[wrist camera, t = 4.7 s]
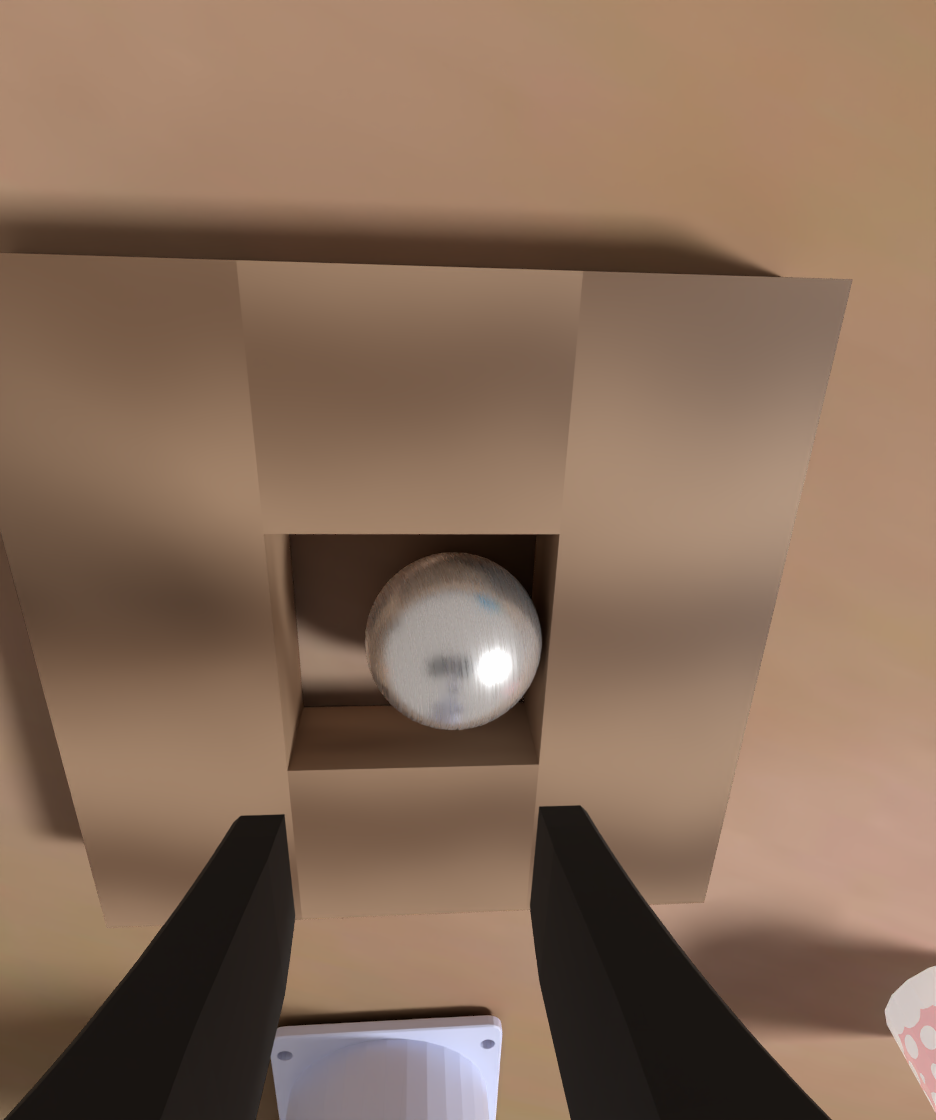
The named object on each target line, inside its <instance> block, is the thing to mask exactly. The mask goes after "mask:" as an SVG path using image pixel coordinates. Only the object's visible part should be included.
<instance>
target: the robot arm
mask: <svg viewBox="0 0 936 1120" xmlns="http://www.w3.org/2000/svg"><path fill="white" fill-rule="evenodd" d="M530 912H531V920H532V928H533V936H534V944H535V952H536V959H537V967H538V974H539V981H540V986H541V991H542V995H543V1000H544V1004H545V1008H546V1013H547V1017H548V1022H549V1026H550V1031H551V1035H552V1039H553V1044H554V1048H555V1053H556V1057H557V1061H558V1066H559V1070H560V1074H561V1079H562V1083H563V1087H564V1092H565V1096H566V1100H567V1105H568V1109H569V1113H570V1118H571V1120H831V1119H830V1117H829V1116H828V1115H827V1114H826V1113H825V1112H824V1111H823V1110H822V1109H821V1108H820V1107H819V1106H818V1105H817V1104H816V1103H815V1102H814V1101H813V1100H812V1099H811V1098H810V1097H809V1096H808V1095H807V1094H806V1093H805V1092H804V1091H803V1090H802V1089H801V1088H800V1086H799V1085H798V1084H797V1083H796V1082H795V1081H794V1080H793V1079H792V1078H791V1077H790V1076H789V1075H788V1073H787V1072H786V1071H785V1070H784V1069H783V1068H782V1067H781V1066H780V1065H779V1064H778V1063H777V1061H776V1060H775V1059H774V1058H773V1057H772V1056H771V1055H770V1054H769V1053H768V1052H767V1051H766V1049H765V1048H764V1047H763V1046H762V1045H761V1044H760V1043H759V1042H758V1040H757V1039H756V1038H755V1037H754V1036H753V1035H752V1034H751V1033H750V1031H749V1030H748V1029H747V1028H746V1027H745V1026H744V1024H743V1023H742V1022H741V1021H740V1020H739V1019H738V1017H737V1016H736V1015H735V1014H734V1013H733V1012H732V1010H731V1009H730V1008H729V1007H728V1006H727V1005H726V1003H725V1002H724V1001H723V1000H722V998H721V997H720V996H719V995H718V994H717V992H716V991H715V990H714V989H713V987H712V986H711V985H710V984H709V983H708V981H707V980H706V979H705V978H704V977H703V975H702V974H701V973H700V972H699V970H698V969H697V968H696V967H695V965H694V964H693V963H692V961H691V960H690V959H689V958H688V956H687V955H686V954H685V953H684V951H683V950H682V949H681V947H680V946H679V945H678V943H677V942H676V941H675V939H674V938H673V937H672V935H671V934H670V933H669V931H668V930H667V929H666V927H665V926H664V925H663V923H662V922H661V921H660V919H659V918H658V917H657V915H656V914H655V913H654V911H653V910H652V909H651V907H650V906H649V905H648V903H647V902H646V900H645V899H644V898H643V896H642V895H641V893H640V892H639V891H638V889H637V888H636V886H635V885H634V883H633V882H632V881H631V879H630V878H629V876H628V875H627V873H626V872H625V870H624V869H623V867H622V866H621V864H620V863H619V861H618V860H617V858H616V857H615V855H614V854H613V852H612V851H611V849H610V848H609V846H608V845H607V843H606V842H605V840H604V839H603V837H602V835H601V834H600V832H599V831H598V829H597V827H596V826H595V824H594V823H593V821H592V819H591V818H590V816H589V814H588V813H587V811H586V810H585V809H584V808H583V807H582V806H581V805H572V806H539V813H538V823H537V834H536V845H535V856H534V866H533V877H532V888H531V899H530ZM294 923H295V908H294V899H293V889H292V880H291V870H290V861H289V851H288V842H287V833H286V823H285V814H277V815H244V816H240V817H239V818H238V819H236V820H235V821H234V822H233V824H232V825H231V827H230V829H229V830H228V832H227V833H226V835H225V836H224V838H223V840H222V841H221V843H220V844H219V846H218V847H217V849H216V850H215V852H214V854H213V855H212V857H211V858H210V860H209V861H208V863H207V864H206V866H205V867H204V869H203V870H202V872H201V873H200V874H199V876H198V877H197V879H196V880H195V882H194V883H193V885H192V886H191V888H190V889H189V890H188V892H187V893H186V895H185V896H184V898H183V899H182V900H181V902H180V903H179V905H178V906H177V908H176V909H175V910H174V912H173V913H172V914H171V916H170V917H169V918H168V920H167V921H166V922H165V924H164V925H163V927H162V928H161V929H160V931H159V932H158V933H157V935H156V936H155V937H154V939H153V940H152V941H151V943H150V944H149V946H148V947H147V948H146V950H145V951H144V952H143V954H142V955H141V956H140V958H139V959H138V960H137V962H136V963H135V964H134V966H133V967H132V968H131V969H130V971H129V972H128V973H127V975H126V976H125V977H124V978H123V980H122V981H121V982H120V983H119V985H118V986H117V987H116V988H115V989H114V991H113V992H112V993H111V994H110V996H109V997H108V998H107V999H106V1001H105V1002H104V1003H103V1004H102V1006H101V1007H100V1008H99V1009H98V1011H97V1012H96V1013H95V1014H94V1016H93V1017H92V1018H91V1019H90V1021H89V1022H88V1023H87V1024H86V1026H85V1027H84V1028H83V1029H82V1031H81V1032H80V1033H79V1034H78V1035H77V1037H76V1038H75V1039H74V1040H73V1041H72V1043H71V1044H70V1045H69V1046H68V1047H67V1048H66V1050H65V1051H64V1052H63V1053H62V1054H61V1055H60V1057H59V1058H58V1059H57V1060H56V1061H55V1063H54V1064H53V1065H52V1066H51V1067H50V1068H49V1070H48V1071H47V1072H46V1073H45V1074H44V1075H43V1076H42V1078H41V1079H40V1080H39V1081H38V1082H37V1083H36V1084H35V1085H34V1087H33V1088H32V1089H31V1090H30V1091H29V1092H28V1093H27V1094H26V1096H25V1097H24V1098H23V1099H22V1100H21V1101H20V1102H19V1103H18V1104H17V1106H16V1107H15V1108H14V1109H13V1110H12V1111H11V1112H10V1113H9V1114H8V1115H7V1117H6V1118H5V1119H4V1120H256V1116H257V1112H258V1108H259V1104H260V1099H261V1095H262V1091H263V1087H264V1083H265V1078H266V1074H267V1070H268V1066H269V1061H270V1057H271V1063H272V1070H273V1077H274V1084H275V1091H276V1098H277V1105H278V1112H279V1119H280V1120H496V1107H497V1094H498V1081H499V1068H500V1055H501V1042H502V1026H501V1021H500V1020H499V1019H498V1018H497V1017H495V1016H492V1015H482V1016H463V1017H445V1018H427V1019H408V1020H390V1021H371V1022H353V1023H334V1024H316V1025H298V1026H283V1027H279V1028H277V1027H278V1022H279V1018H280V1014H281V1009H282V1005H283V1000H284V996H285V990H286V983H287V976H288V969H289V961H290V954H291V946H292V938H293V931H294Z"/></svg>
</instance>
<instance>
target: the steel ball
mask: <svg viewBox="0 0 936 1120" xmlns="http://www.w3.org/2000/svg"><path fill="white" fill-rule="evenodd" d="M541 648H542V636H541V626H540V621H539V617H538V614H537V611H536V608H535V606H534V603H533V601H532V599H531V598H530V596H529V594H528V593H527V591H526V589H525V588H524V587H523V586H522V584H521V583H520V582H519V581H518V580H517V579H516V578H515V577H514V576H513V575H512V574H511V573H510V572H508V571H507V570H506V569H504V568H503V567H501V566H500V565H498V564H497V563H495V562H493V561H490V560H488V559H486V558H483V557H480V556H477V555H473V554H468V553H456V552H448V553H439V554H434V555H430V556H427V557H424V558H421V559H419V560H417V561H415V562H413V563H411V564H409V565H407V566H406V567H404V568H403V569H402V570H400V571H399V572H398V573H396V574H395V575H394V576H393V577H392V578H391V579H390V580H389V581H388V582H387V583H386V585H385V586H384V587H383V588H382V590H381V591H380V593H379V594H378V596H377V598H376V599H375V602H374V604H373V606H372V608H371V611H370V614H369V617H368V621H367V626H366V632H365V649H366V657H367V662H368V666H369V669H370V672H371V674H372V677H373V679H374V681H375V683H376V685H377V687H378V689H379V690H380V691H381V693H382V694H383V696H384V697H385V698H386V699H387V700H388V702H389V703H390V704H391V705H392V706H393V707H394V708H396V709H397V710H398V711H399V712H401V713H402V714H403V715H405V716H406V717H408V718H410V719H411V720H413V721H415V722H418V723H420V724H422V725H425V726H429V727H432V728H437V729H445V730H463V729H470V728H474V727H478V726H481V725H484V724H487V723H489V722H491V721H493V720H495V719H497V718H498V717H500V716H501V715H503V714H505V713H506V712H507V711H508V710H510V709H511V708H512V707H513V706H514V705H515V704H516V703H517V702H518V701H519V700H520V699H521V698H522V697H523V695H524V694H525V692H526V691H527V689H528V688H529V686H530V684H531V682H532V680H533V678H534V676H535V674H536V671H537V668H538V665H539V661H540V655H541Z"/></svg>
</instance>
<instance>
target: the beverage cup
mask: <svg viewBox="0 0 936 1120" xmlns="http://www.w3.org/2000/svg"><path fill="white" fill-rule="evenodd" d="M885 1016H886V1022H887V1026H888V1027H889V1029H890V1031H891V1033H892V1035H893V1036H894V1038H895V1040H896V1042H897V1044H898V1045H899V1047H900V1049H901V1051H902V1053H903V1055H904V1056H905V1058H906V1060H907V1062H908V1064H909V1065H910V1067H911V1069H912V1071H913V1073H914V1074H915V1076H916V1078H917V1080H918V1082H919V1083H920V1085H921V1087H922V1089H923V1091H924V1093H925V1094H926V1096H927V1098H928V1100H929V1102H930V1103H931V1105H932V1107H933V1109H934V1111H935V1112H936V966H933V967H930V968H927V969H926V970H924V971H922V972H920V973H919V974H917V975H915V976H913V977H912V978H910V979H908V980H907V981H906V982H905V983H904V984H903V985H901V986H900V987H899V988H898V989H897V990H896V991H895V992H894V993H893V994H892V995H891V998H890V1000H889V1002H888V1004H887V1007H886V1009H885Z"/></svg>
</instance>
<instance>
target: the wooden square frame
mask: <svg viewBox="0 0 936 1120" xmlns="http://www.w3.org/2000/svg"><path fill="white" fill-rule="evenodd" d="M852 280H853V279H822V278H792V277H760V276H728V275H696V274H664V273H632V272H600V271H568V270H536V269H504V268H472V267H440V266H408V265H376V264H344V263H312V262H280V261H248V260H216V259H184V258H152V257H120V256H88V255H56V254H24V253H0V532H1V536H2V539H3V543H4V547H5V550H6V554H7V558H8V562H9V565H10V569H11V573H12V577H13V580H14V584H15V588H16V591H17V595H18V599H19V603H20V606H21V610H22V614H23V618H24V621H25V625H26V629H27V632H28V636H29V640H30V644H31V647H32V651H33V655H34V658H35V662H36V666H37V670H38V673H39V677H40V681H41V685H42V688H43V692H44V696H45V699H46V703H47V707H48V711H49V714H50V718H51V722H52V725H53V729H54V733H55V737H56V740H57V744H58V748H59V752H60V755H61V759H62V763H63V766H64V770H65V774H66V778H67V781H68V785H69V789H70V792H71V796H72V800H73V804H74V807H75V811H76V815H77V819H78V822H79V826H80V830H81V833H82V837H83V841H84V845H85V848H86V852H87V856H88V860H89V863H90V867H91V871H92V874H93V878H94V882H95V886H96V889H97V893H98V897H99V900H100V904H101V908H102V912H103V915H104V919H105V923H106V927H107V928H117V927H141V926H163V925H164V924H165V922H166V921H167V920H168V918H169V917H170V916H171V914H172V913H173V912H174V910H175V909H176V908H177V906H178V905H179V903H180V902H181V900H182V899H183V898H184V896H185V895H186V893H187V892H188V890H189V889H190V888H191V886H192V885H193V883H194V882H195V880H196V879H197V877H198V876H199V874H200V873H201V872H202V870H203V869H204V867H205V866H206V864H207V863H208V861H209V860H210V858H211V857H212V855H213V854H214V852H215V850H216V849H217V847H218V846H219V844H220V843H221V841H222V840H223V838H224V836H225V835H226V833H227V832H228V830H229V829H230V827H231V825H232V824H233V822H234V821H235V820H236V819H238V818H239V817H240V816H244V815H277V814H285V823H286V833H287V842H288V851H289V861H290V870H291V880H292V889H293V899H294V908H295V920H306V919H329V918H353V917H376V916H400V915H423V914H447V913H471V912H494V911H518V910H530V899H531V888H532V877H533V866H534V856H535V845H536V834H537V823H538V813H539V806H572V805H581V806H582V807H583V808H584V809H585V810H586V811H587V813H588V814H589V816H590V818H591V819H592V821H593V823H594V824H595V826H596V827H597V829H598V831H599V832H600V834H601V835H602V837H603V839H604V840H605V842H606V843H607V845H608V846H609V848H610V849H611V851H612V852H613V854H614V855H615V857H616V858H617V860H618V861H619V863H620V864H621V866H622V867H623V869H624V870H625V872H626V873H627V875H628V876H629V878H630V879H631V881H632V882H633V883H634V885H635V886H636V888H637V889H638V891H639V892H640V893H641V895H642V896H643V898H644V899H645V900H646V902H647V903H648V905H659V904H683V903H704V900H705V896H706V892H707V888H708V884H709V879H710V875H711V871H712V867H713V863H714V859H715V854H716V850H717V846H718V842H719V838H720V833H721V829H722V825H723V821H724V817H725V812H726V808H727V804H728V800H729V796H730V791H731V787H732V783H733V779H734V775H735V770H736V766H737V762H738V758H739V754H740V749H741V745H742V741H743V737H744V733H745V729H746V724H747V720H748V716H749V712H750V708H751V703H752V699H753V695H754V691H755V687H756V682H757V678H758V674H759V670H760V666H761V661H762V657H763V653H764V649H765V645H766V640H767V636H768V632H769V628H770V624H771V619H772V615H773V611H774V607H775V603H776V599H777V594H778V590H779V586H780V582H781V578H782V573H783V569H784V565H785V561H786V557H787V552H788V548H789V544H790V540H791V536H792V531H793V527H794V523H795V519H796V515H797V510H798V506H799V502H800V498H801V494H802V489H803V485H804V481H805V477H806V473H807V469H808V464H809V460H810V456H811V452H812V448H813V443H814V439H815V435H816V431H817V427H818V422H819V418H820V414H821V410H822V406H823V401H824V397H825V393H826V389H827V385H828V380H829V376H830V372H831V368H832V364H833V359H834V355H835V351H836V347H837V343H838V339H839V334H840V330H841V326H842V322H843V318H844V313H845V309H846V305H847V301H848V297H849V292H850V288H851V284H852ZM289 534H536V548H535V561H534V574H533V588H532V601H533V603H534V606H535V608H536V611H537V614H538V617H539V621H540V626H541V636H542V648H541V655H540V661H539V665H538V668H537V671H536V674H535V676H534V678H533V680H532V682H531V684H530V686H529V688H528V689H527V691H526V692H525V695H524V703H516V704H515V705H514V706H513V707H512V708H511V709H510V710H508V711H507V712H506V713H505V714H503V715H501V716H500V717H498V718H497V719H495V720H493V721H491V722H489V723H487V724H484V725H481V726H478V727H474V728H470V729H463V730H445V729H437V728H432V727H429V726H425V725H422V724H420V723H418V722H415V721H413V720H411V719H410V718H408V717H406V716H405V715H403V714H402V713H401V712H399V711H398V710H397V709H396V708H394V707H393V706H340V707H304V706H303V694H302V682H301V670H300V658H299V646H298V635H297V623H296V611H295V599H294V587H293V575H292V563H291V551H290V539H289Z"/></svg>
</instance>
